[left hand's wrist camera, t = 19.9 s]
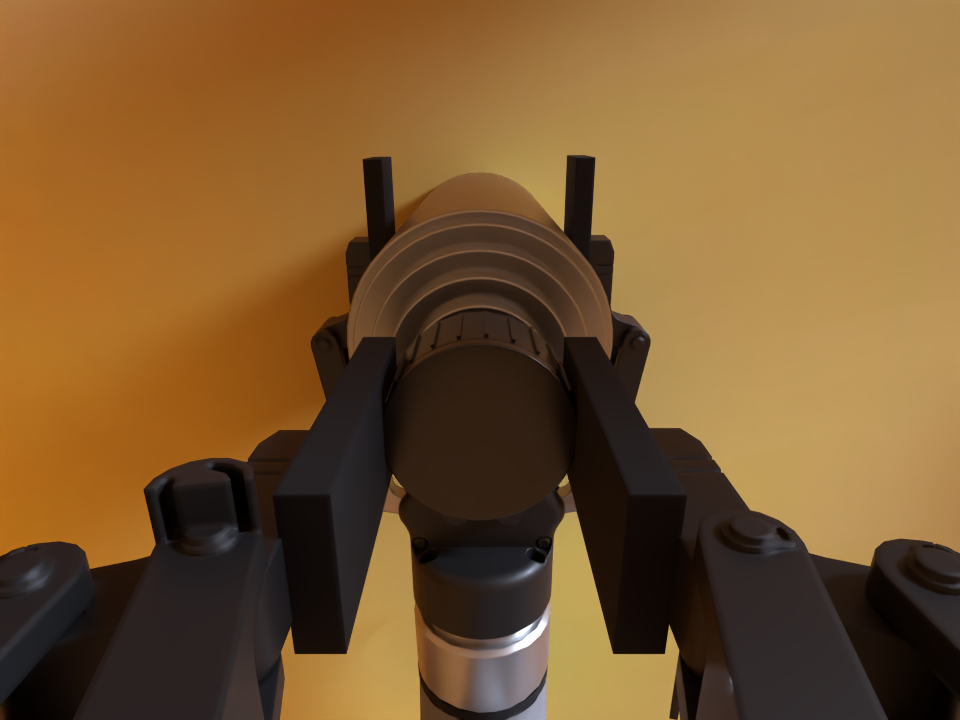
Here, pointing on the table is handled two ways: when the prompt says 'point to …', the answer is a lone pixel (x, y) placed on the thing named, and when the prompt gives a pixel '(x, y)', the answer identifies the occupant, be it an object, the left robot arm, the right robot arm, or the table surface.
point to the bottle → (479, 269)
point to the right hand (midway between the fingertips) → (478, 157)
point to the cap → (479, 417)
